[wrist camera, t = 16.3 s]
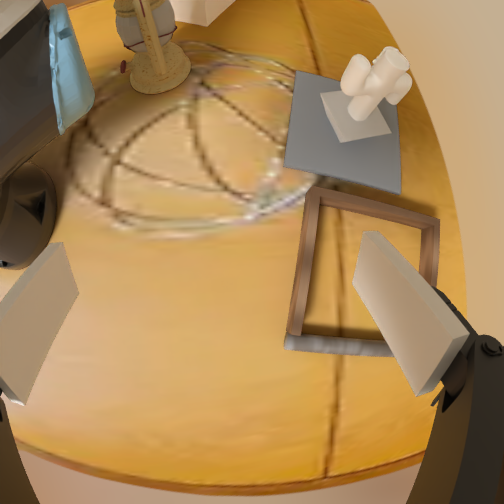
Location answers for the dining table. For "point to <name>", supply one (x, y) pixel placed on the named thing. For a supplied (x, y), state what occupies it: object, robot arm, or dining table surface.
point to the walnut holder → (305, 257)
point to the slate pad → (329, 147)
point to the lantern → (151, 45)
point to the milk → (199, 10)
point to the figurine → (367, 94)
